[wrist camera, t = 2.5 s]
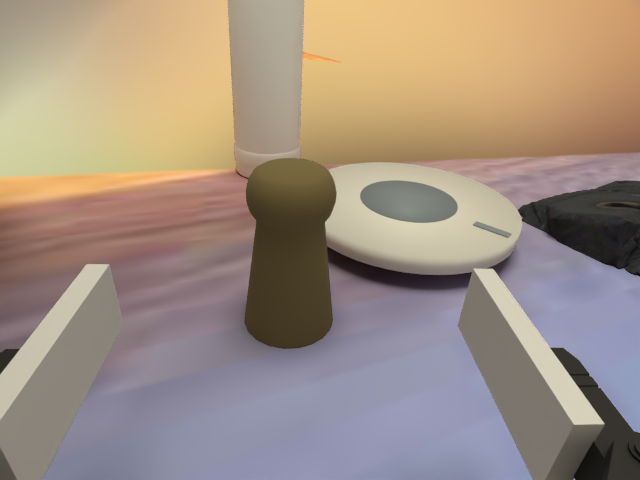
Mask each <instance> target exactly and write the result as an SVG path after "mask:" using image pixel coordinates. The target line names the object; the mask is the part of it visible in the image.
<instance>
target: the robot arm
mask: <svg viewBox="0 0 640 480" xmlns="http://www.w3.org/2000/svg"><path fill="white" fill-rule="evenodd" d="M123 325H124V324H123V319H122V315H121V311H120V307H119V303H118V299H117V294H116V290H115V286H114V282H113V278H112V273H111V269H110V265H109V264H87V265H86V266H85V267H84V268H83V270H82V271H81V272H80V274H79V275H78V276H77V277H76V279H75V280H74V281H73V282H72V284H71V285H70V286H69V288H68V289H67V290H66V291H65V293H64V294H63V295H62V296H61V298H60V299H59V300H58V302H57V303H56V304H55V305H54V307H53V308H52V309H51V310H50V312H49V313H48V314H47V316H46V317H45V318H44V319H43V321H42V322H41V323H40V325H39V326H38V327H37V328H36V330H35V331H34V332H33V333H32V335H31V336H30V337H29V339H28V340H27V341H26V342H25V344H24V345H23V346H22V347H21V349H5V350H4V351H3V352H1V353H0V480H42V479H43V477H44V475H45V473H46V471H47V469H48V467H49V465H50V463H51V462H52V460H53V458H54V456H55V454H56V452H57V450H58V448H59V446H60V444H61V443H62V441H63V439H64V437H65V435H66V433H67V431H68V429H69V427H70V426H71V424H72V422H73V420H74V418H75V416H76V414H77V412H78V410H79V408H80V407H81V405H82V403H83V401H84V399H85V397H86V395H87V393H88V391H89V390H90V388H91V386H92V384H93V382H94V380H95V378H96V376H97V374H98V372H99V371H100V369H101V367H102V365H103V363H104V361H105V359H106V357H107V355H108V354H109V352H110V350H111V348H112V346H113V344H114V342H115V340H116V338H117V336H118V335H119V333H120V331H121V329H122V327H123ZM458 327H459V329H460V331H461V333H462V335H463V337H464V339H465V341H466V343H467V345H468V347H469V349H470V352H471V354H472V356H473V358H474V360H475V362H476V364H477V366H478V368H479V370H480V372H481V374H482V376H483V378H484V380H485V382H486V384H487V386H488V388H489V390H490V393H491V395H492V397H493V399H494V401H495V403H496V405H497V407H498V409H499V411H500V413H501V415H502V417H503V419H504V421H505V423H506V425H507V427H508V429H509V431H510V433H511V436H512V438H513V440H514V442H515V444H516V446H517V448H518V450H519V452H520V454H521V456H522V458H523V460H524V462H525V464H526V466H527V468H528V470H529V472H530V474H531V477H532V479H533V480H573V479H574V478H575V480H640V433H638V432H634V431H633V430H632V429H631V427H630V426H629V425H628V423H627V422H626V421H625V420H624V418H623V417H622V416H621V414H620V413H619V412H618V410H617V409H616V408H615V407H614V405H613V404H612V403H611V401H610V400H609V399H608V398H607V396H606V395H605V394H604V392H603V391H602V390H601V388H598V385H597V383H596V382H595V381H594V379H593V378H592V377H590V376H589V373H588V372H587V370H586V369H585V368H584V366H583V365H582V364H581V363H580V361H579V360H578V359H577V358H575V357H574V356H573V355H571V354H570V353H569V352H567V351H566V350H565V349H564V348H550V347H549V346H548V344H547V343H546V342H545V340H544V339H543V337H542V336H541V335H540V333H539V332H538V331H537V329H536V328H535V326H534V325H533V324H532V322H531V321H530V319H529V318H528V317H527V315H526V314H525V312H524V311H523V310H522V308H521V307H520V305H519V304H518V303H517V301H516V300H515V299H514V297H513V296H512V294H511V293H510V292H509V290H508V289H507V287H506V286H505V285H504V283H503V282H502V280H501V279H500V278H499V276H498V275H497V273H496V272H495V271H494V269H473V271H472V274H471V278H470V282H469V286H468V289H467V293H466V297H465V301H464V304H463V308H462V312H461V316H460V319H459V323H458Z"/></svg>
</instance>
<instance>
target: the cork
mask: <svg viewBox="0 0 640 480" xmlns="http://www.w3.org/2000/svg"><path fill="white" fill-rule="evenodd" d="M336 194H337V192H336V187H335V182H334V179H333V177H332V175H331V174H330V172H329V171H328V170H327V169H326V168H325V167H323V166H322V165H320V164H318V163H316V162H313V161H309V160H306V159H298V158H281V159H274V160H270V161H267V162H265V163H262V164H261V165H259V166H257V167H256V168H255V169H254V170H253V172H252V173H251V175H250V176H249V179H248V183H247V188H246V200H247V204H248V208H249V211H250V212H251V214H252V216H253V217H254V218H255V219H256V230H255V238H254V246H253V254H252V263H251V271H250V279H249V287H248V296H247V304H246V312H245V324H246V327H247V329H248V332H249V333H250V334H252V335H253V336H254V337H255V338H256V339H257V340H259V341H261V342H263V343H265V344H267V345H269V346H274V347H279V348H299V347H303V346H307V345H310V344H313V343H315V342H316V341H318V340H320V339H321V338H323V337H324V336H325V334H326V333H327V332H328V331H329V330H330V327H331V324H332V321H333V318H332V306H331V293H330V280H329V267H328V254H327V241H326V229H325V222H326V221H327V219H328V218H329V217H330V216H331V213H332V211H333V208H334V205H335V203H336Z"/></svg>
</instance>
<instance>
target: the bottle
mask: <svg viewBox="0 0 640 480" xmlns="http://www.w3.org/2000/svg"><path fill="white" fill-rule="evenodd" d="M228 14H229V33H230V35H229V36H230V55H231V76H232V95H233V116H234V135H235V143H234V154H235V161H236V171H237V172H238V173H239V174H241V175H242V176H244V177H247V178H249V176H250V175H251V173H252V172H253V170H254V169H255V168H256V167H257V166H259V165H261V164H262V163H265V162H267V161H270V160H274V159H281V158H298V159H300V153H301V148H300V122H301V89H302V88H301V87H302V55H303V20H304V19H303V18H304V0H228Z"/></svg>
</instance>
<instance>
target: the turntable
mask: <svg viewBox="0 0 640 480" xmlns="http://www.w3.org/2000/svg"><path fill="white" fill-rule="evenodd" d="M328 171H329V172H330V174H331V175H332V177H333V179H334V182H335V187H336V192H337V194H336V203H335V205H334V208H333V211H332V213H331V216H330V217H329V218H328V219H327V221H326V222H325V229H326V241H327V246H328V247H329V248H331V249H333V250H335V251H337V252H339V253H340V254H342V255H345V256H347V257H349V258H352V259H354V260H357V261H360V262H363V263H366V264H369V265H372V266H376V267H380V268H384V269H388V270H393V271H399V272H404V273H413V274H423V275H452V274H462V273H470V272H472V271H473V269H486V268H489V267H491V266H494V265H496V264H498V263H500V262H501V261H503V260H505V259H506V258H507V257H508V256H509V255H510V254H511V253H512V252H513V250H514V249H515V247H516V244H517V241H518V238H519V235H520V232H521V228H522V219H521V216H520V214H519V212H518V211H517V209H516V207H515V206H514V205H513V204H512V203H511V202H510V201H509V200H507V199H506V198H505V197H504V196H503V195H501V194H499V193H498V192H496V191H495V190H493V189H491V188H489V187H488V186H486V185H484V184H481V183H479V182H477V181H475V180H472V179H470V178H467V177H464V176H461V175H458V174H455V173H451V172H448V171H444V170H440V169H435V168H431V167H425V166H419V165H412V164H403V163H386V162H374V163H359V164H351V165H345V166H340V167H336V168H333V169H330V170H328Z"/></svg>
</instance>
